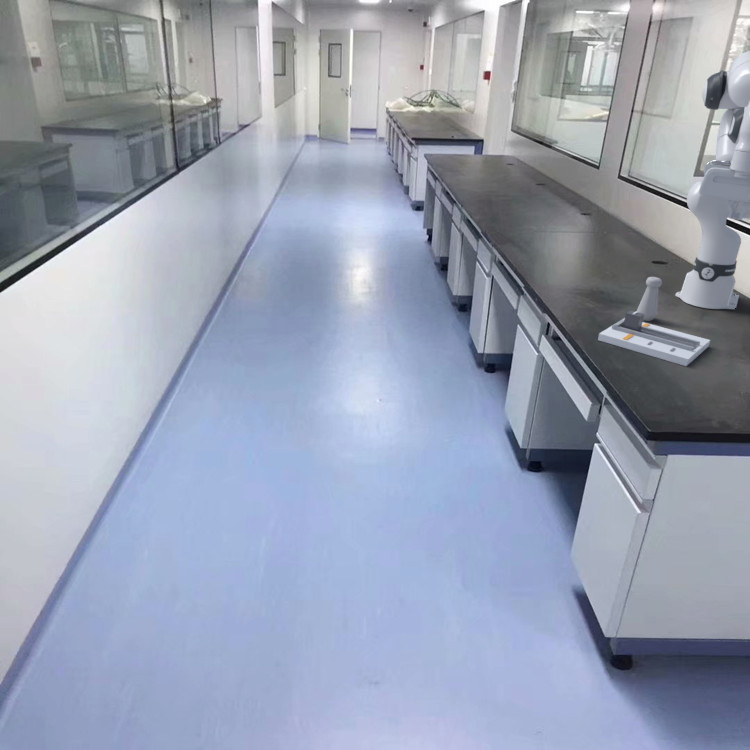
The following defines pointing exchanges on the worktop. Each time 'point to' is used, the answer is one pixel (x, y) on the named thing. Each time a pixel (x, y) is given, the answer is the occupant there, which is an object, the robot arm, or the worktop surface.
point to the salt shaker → (650, 299)
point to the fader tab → (633, 320)
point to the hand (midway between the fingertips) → (735, 219)
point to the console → (656, 342)
